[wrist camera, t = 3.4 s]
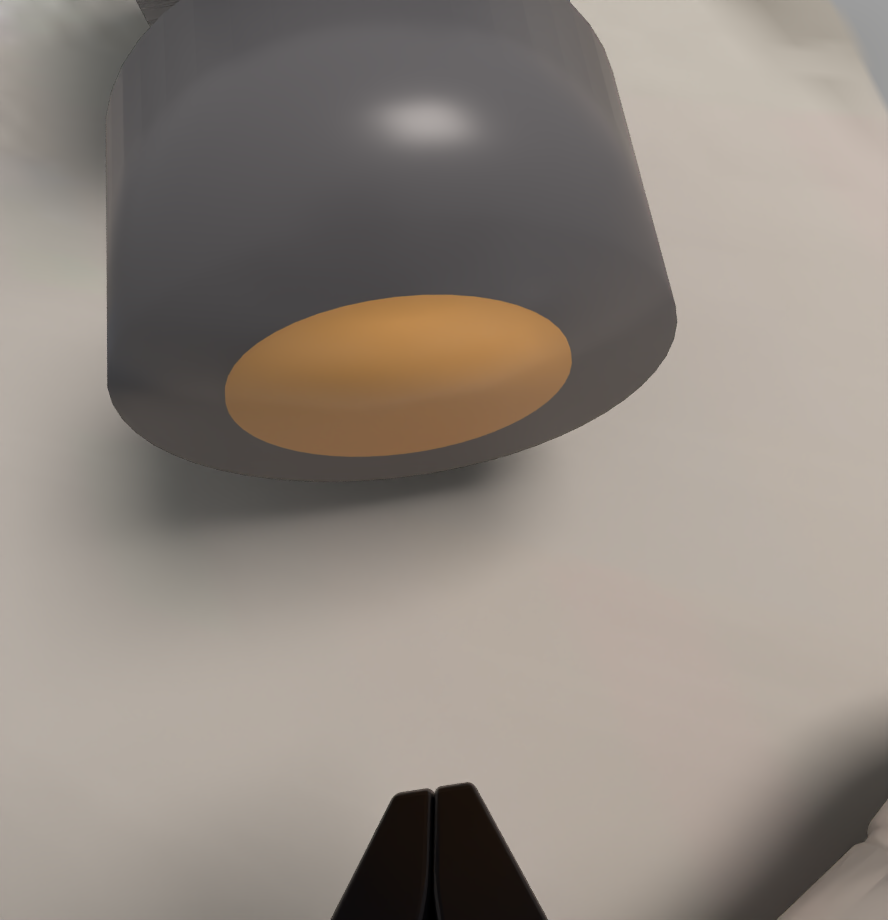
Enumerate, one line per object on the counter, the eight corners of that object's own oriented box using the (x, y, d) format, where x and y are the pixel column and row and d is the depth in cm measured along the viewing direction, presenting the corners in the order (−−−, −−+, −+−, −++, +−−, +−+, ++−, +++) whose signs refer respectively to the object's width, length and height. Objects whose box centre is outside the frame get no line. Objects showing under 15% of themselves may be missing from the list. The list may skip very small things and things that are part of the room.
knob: (643, 442, 16) (736, 162, 8) (228, 512, 16) (-33, 303, 9) (522, -62, 20) (514, -538, 13) (199, 3, 21) (9, -423, 13)
